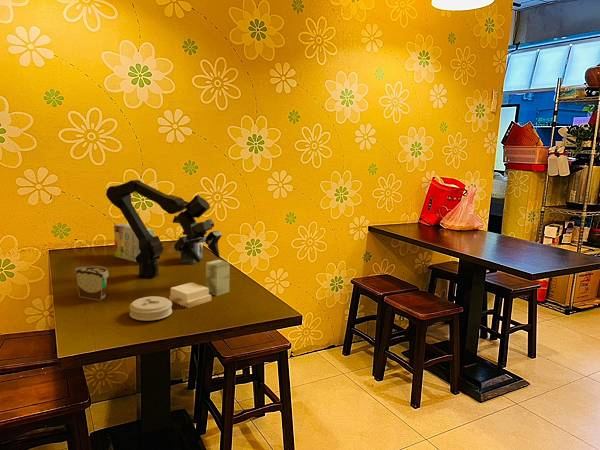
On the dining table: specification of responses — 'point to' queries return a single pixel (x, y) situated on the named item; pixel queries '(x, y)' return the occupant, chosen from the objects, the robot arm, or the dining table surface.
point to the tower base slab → (190, 303)
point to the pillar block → (217, 277)
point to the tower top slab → (189, 291)
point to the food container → (92, 282)
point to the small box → (199, 251)
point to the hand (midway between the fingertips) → (209, 259)
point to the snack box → (127, 242)
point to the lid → (150, 308)
